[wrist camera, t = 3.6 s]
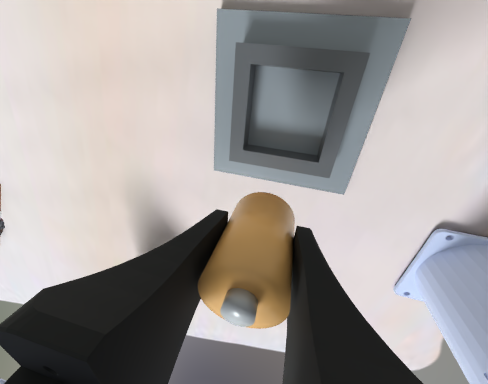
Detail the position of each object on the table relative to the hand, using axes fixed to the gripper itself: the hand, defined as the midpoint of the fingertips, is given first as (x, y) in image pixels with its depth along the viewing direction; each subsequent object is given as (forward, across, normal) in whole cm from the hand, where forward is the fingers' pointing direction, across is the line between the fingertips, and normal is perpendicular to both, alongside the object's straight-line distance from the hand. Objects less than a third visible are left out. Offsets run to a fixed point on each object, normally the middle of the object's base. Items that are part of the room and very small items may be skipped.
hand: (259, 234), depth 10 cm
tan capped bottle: (+2, 0, 0) cm, 2 cm away
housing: (+8, 0, -5) cm, 10 cm away
